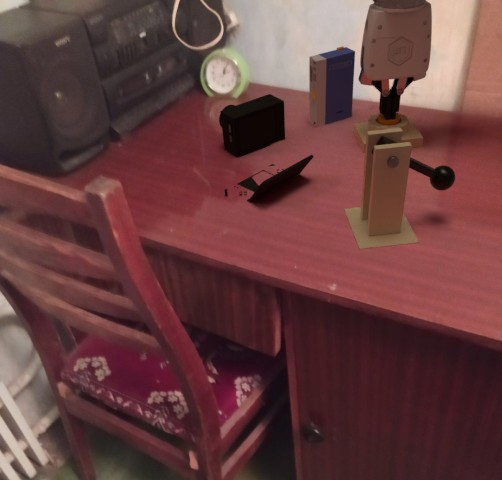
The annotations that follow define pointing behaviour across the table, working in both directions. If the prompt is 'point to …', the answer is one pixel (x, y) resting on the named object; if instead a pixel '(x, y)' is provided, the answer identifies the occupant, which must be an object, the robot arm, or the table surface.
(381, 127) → the button block
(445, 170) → the switch lever
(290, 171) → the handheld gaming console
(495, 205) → the table surface
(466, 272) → the table surface
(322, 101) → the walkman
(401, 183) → the switch bracket
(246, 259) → the table surface
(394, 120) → the button
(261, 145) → the digital camera
